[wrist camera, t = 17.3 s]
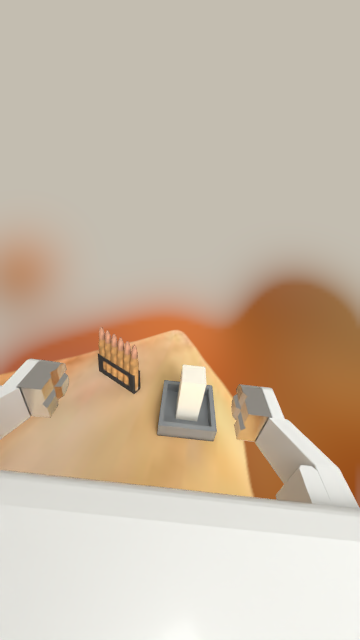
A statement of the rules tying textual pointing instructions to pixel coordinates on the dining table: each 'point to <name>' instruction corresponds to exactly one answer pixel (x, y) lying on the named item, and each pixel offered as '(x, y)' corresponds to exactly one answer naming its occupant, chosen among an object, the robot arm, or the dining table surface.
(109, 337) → the ammunition clip
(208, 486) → the dining table surface
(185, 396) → the cream block
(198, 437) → the box
